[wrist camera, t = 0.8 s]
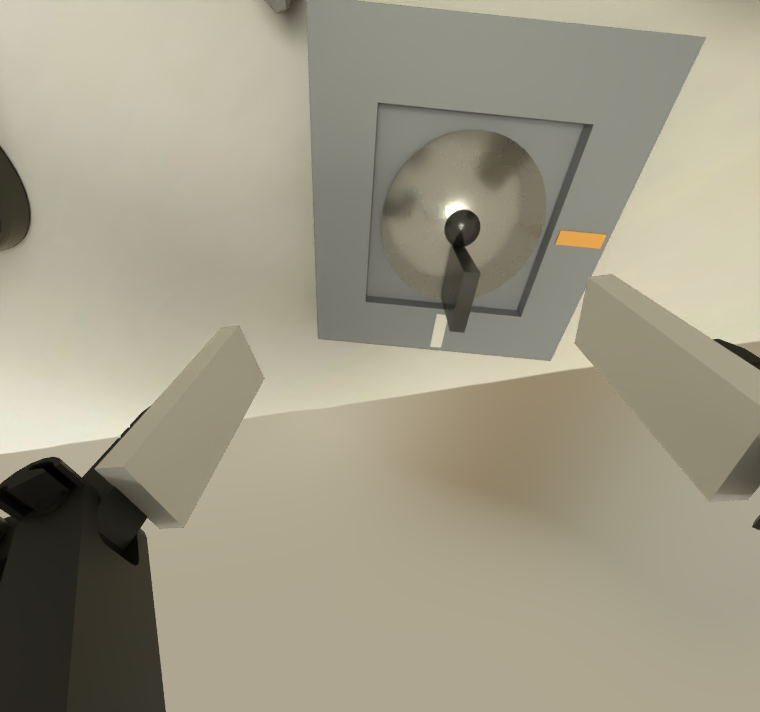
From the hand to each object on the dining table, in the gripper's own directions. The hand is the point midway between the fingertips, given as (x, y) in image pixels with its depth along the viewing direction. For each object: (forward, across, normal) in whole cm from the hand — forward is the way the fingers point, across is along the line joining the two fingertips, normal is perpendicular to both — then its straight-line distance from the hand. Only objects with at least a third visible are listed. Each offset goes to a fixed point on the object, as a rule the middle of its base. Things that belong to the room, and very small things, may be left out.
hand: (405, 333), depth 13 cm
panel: (+22, +5, -1) cm, 23 cm away
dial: (+20, +5, -1) cm, 21 cm away
